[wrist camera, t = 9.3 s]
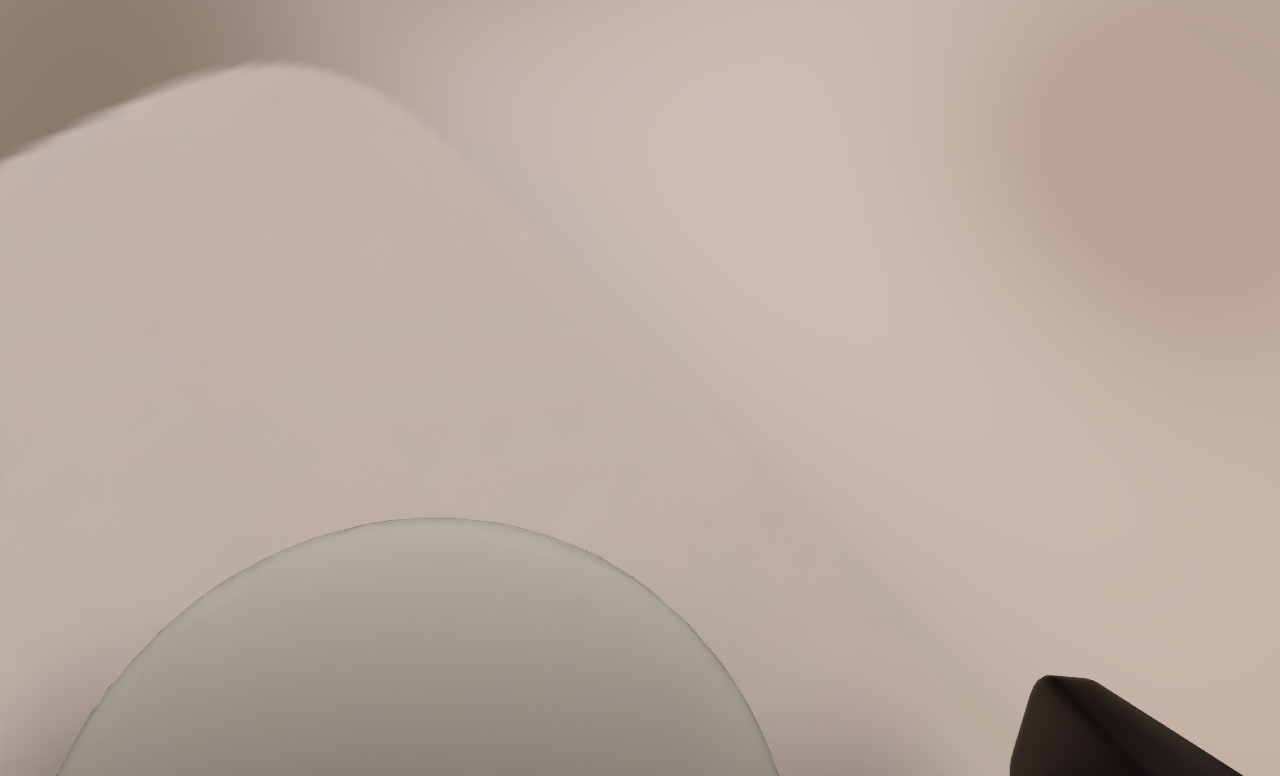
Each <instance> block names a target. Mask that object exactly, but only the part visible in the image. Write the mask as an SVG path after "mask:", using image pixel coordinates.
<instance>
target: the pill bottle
mask: <svg viewBox="0 0 1280 776" xmlns="http://www.w3.org/2000/svg"><path fill="white" fill-rule="evenodd" d="M57 776H779V775H778V772H777V769H776V766H775V763H774V761H773V758H772V755H771V753H770V750H769V748H768V745H767V743H766V741H765V738H764V736H763V734H762V731H761V729H760V727H759V725H758V723H757V721H756V719H755V717H754V715H753V713H752V711H751V709H750V707H749V705H748V703H747V702H746V700H745V699H744V697H743V695H742V694H741V692H740V691H739V689H738V687H737V686H736V684H735V683H734V681H733V679H732V678H731V676H730V675H729V673H728V672H727V670H726V669H725V667H724V666H723V664H722V663H721V662H720V660H719V659H718V658H717V657H716V656H715V655H714V653H713V652H712V651H711V650H710V649H709V648H708V646H707V645H706V644H705V643H704V642H703V641H702V639H701V638H700V637H699V636H698V635H697V633H696V632H695V631H694V630H693V629H692V628H691V626H690V625H689V624H688V623H687V622H685V621H684V620H683V619H682V618H681V617H680V616H679V615H678V614H676V613H675V612H674V611H673V610H672V609H671V608H670V607H669V606H667V605H666V604H665V603H664V602H663V601H662V600H661V599H660V598H659V597H658V596H657V595H656V594H655V593H653V592H652V591H651V590H649V589H648V588H647V587H645V586H644V585H643V584H641V583H640V582H639V581H637V580H636V579H634V578H633V577H632V576H630V575H629V574H627V573H625V572H624V571H622V570H621V569H619V568H617V567H616V566H614V565H612V564H611V563H609V562H608V561H606V560H604V559H603V558H601V557H599V556H597V555H594V554H592V553H590V552H588V551H585V550H583V549H581V548H579V547H576V546H574V545H572V544H569V543H566V542H563V541H561V540H558V539H555V538H552V537H550V536H547V535H543V534H540V533H537V532H533V531H530V530H526V529H523V528H520V527H515V526H510V525H505V524H500V523H494V522H488V521H478V520H467V519H457V518H413V519H401V520H389V521H383V522H377V523H371V524H366V525H361V526H357V527H353V528H350V529H346V530H342V531H339V532H335V533H331V534H327V535H323V536H319V537H315V538H312V539H310V540H307V541H305V542H302V543H300V544H297V545H295V546H292V547H290V548H288V549H285V550H283V551H281V552H279V553H277V554H274V555H272V556H270V557H268V558H266V559H264V560H262V561H260V562H258V563H256V564H254V565H252V566H251V567H249V568H247V569H245V570H243V571H241V572H240V573H238V574H236V575H234V576H232V577H230V578H229V579H227V580H226V581H224V582H223V583H221V584H220V585H218V586H217V587H215V588H214V589H212V590H211V591H209V592H208V593H206V594H205V595H203V596H202V597H201V598H199V599H198V600H197V601H196V602H194V603H193V604H192V605H191V606H190V607H188V608H187V609H186V610H185V611H184V612H182V613H181V614H180V615H179V616H178V617H177V618H175V619H174V620H173V621H172V622H171V623H170V624H168V625H167V626H166V627H165V628H164V629H163V630H161V631H160V632H159V633H158V634H157V635H156V637H155V638H154V639H153V640H152V641H151V642H150V643H149V644H148V645H147V646H146V647H145V648H144V649H143V650H142V651H141V652H140V653H139V654H138V655H137V657H136V658H135V659H134V660H133V661H132V662H131V663H130V664H129V666H128V667H127V668H126V669H125V670H124V671H123V673H122V674H121V675H120V676H119V677H118V679H117V680H116V681H115V682H114V683H113V684H112V685H111V686H110V687H109V688H108V689H107V691H106V693H105V695H104V696H103V698H102V700H101V702H100V703H99V705H98V706H97V707H96V708H95V709H94V710H93V711H92V712H91V714H90V716H89V717H88V719H87V721H86V722H85V724H84V726H83V728H82V729H81V731H80V733H79V735H78V736H77V738H76V740H75V742H74V744H73V746H72V748H71V749H70V751H69V753H68V755H67V757H66V759H65V761H64V762H63V764H62V766H61V768H60V770H59V772H58V774H57Z"/></svg>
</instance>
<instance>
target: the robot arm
mask: <svg viewBox="0 0 1280 776" xmlns="http://www.w3.org/2000/svg"><path fill="white" fill-rule="evenodd" d="M1010 776H1243V775H1241V774H1240V773H1238V772H1237V771H1235V770H1233V769H1232V768H1230V767H1229V766H1227V765H1226V764H1224V763H1223V762H1221V761H1219V760H1218V759H1216V758H1215V757H1213V756H1212V755H1210V754H1208V753H1207V752H1205V751H1204V750H1202V749H1201V748H1199V747H1197V746H1196V745H1194V744H1193V743H1191V742H1189V741H1188V740H1186V739H1185V738H1183V737H1182V736H1180V735H1179V734H1177V733H1176V732H1174V731H1172V730H1171V729H1169V728H1168V727H1166V726H1164V725H1163V724H1161V723H1160V722H1158V721H1157V720H1155V719H1153V718H1152V717H1150V716H1149V715H1147V714H1146V713H1144V712H1143V711H1141V710H1139V709H1138V708H1136V707H1135V706H1133V705H1132V704H1130V703H1129V702H1127V701H1125V700H1124V699H1122V698H1121V697H1119V696H1118V695H1116V694H1114V693H1113V692H1111V691H1110V690H1108V689H1106V688H1105V687H1104V686H1102V685H1100V684H1099V683H1097V682H1095V681H1093V680H1090V679H1086V678H1076V677H1065V676H1053V675H1047V676H1044V677H1042V678H1041V679H1039V680H1038V681H1037V682H1036V684H1035V685H1034V687H1033V689H1032V692H1031V694H1030V697H1029V700H1028V704H1027V707H1026V710H1025V714H1024V717H1023V720H1022V724H1021V727H1020V730H1019V733H1018V737H1017V740H1016V743H1015V747H1014V750H1013V753H1012V757H1011V763H1010Z"/></svg>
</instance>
